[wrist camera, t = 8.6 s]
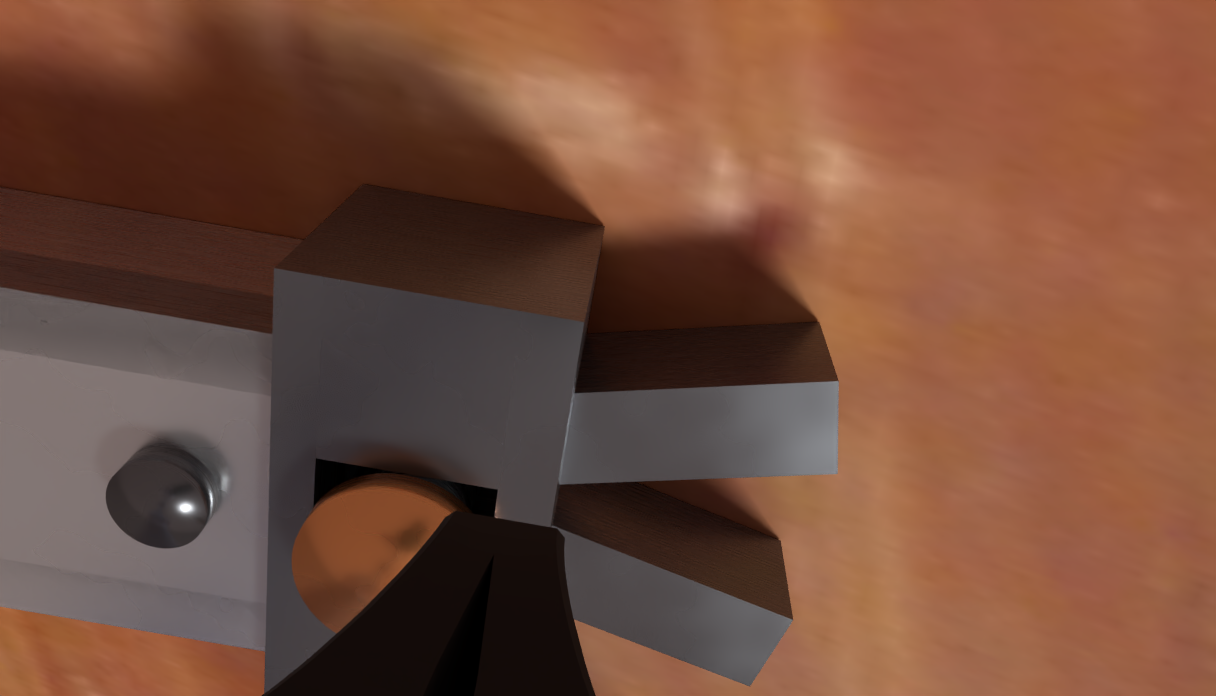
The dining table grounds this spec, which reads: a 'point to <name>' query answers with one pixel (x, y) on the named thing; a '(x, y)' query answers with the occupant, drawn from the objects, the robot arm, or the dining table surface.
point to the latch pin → (368, 538)
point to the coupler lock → (135, 417)
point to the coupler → (537, 418)
